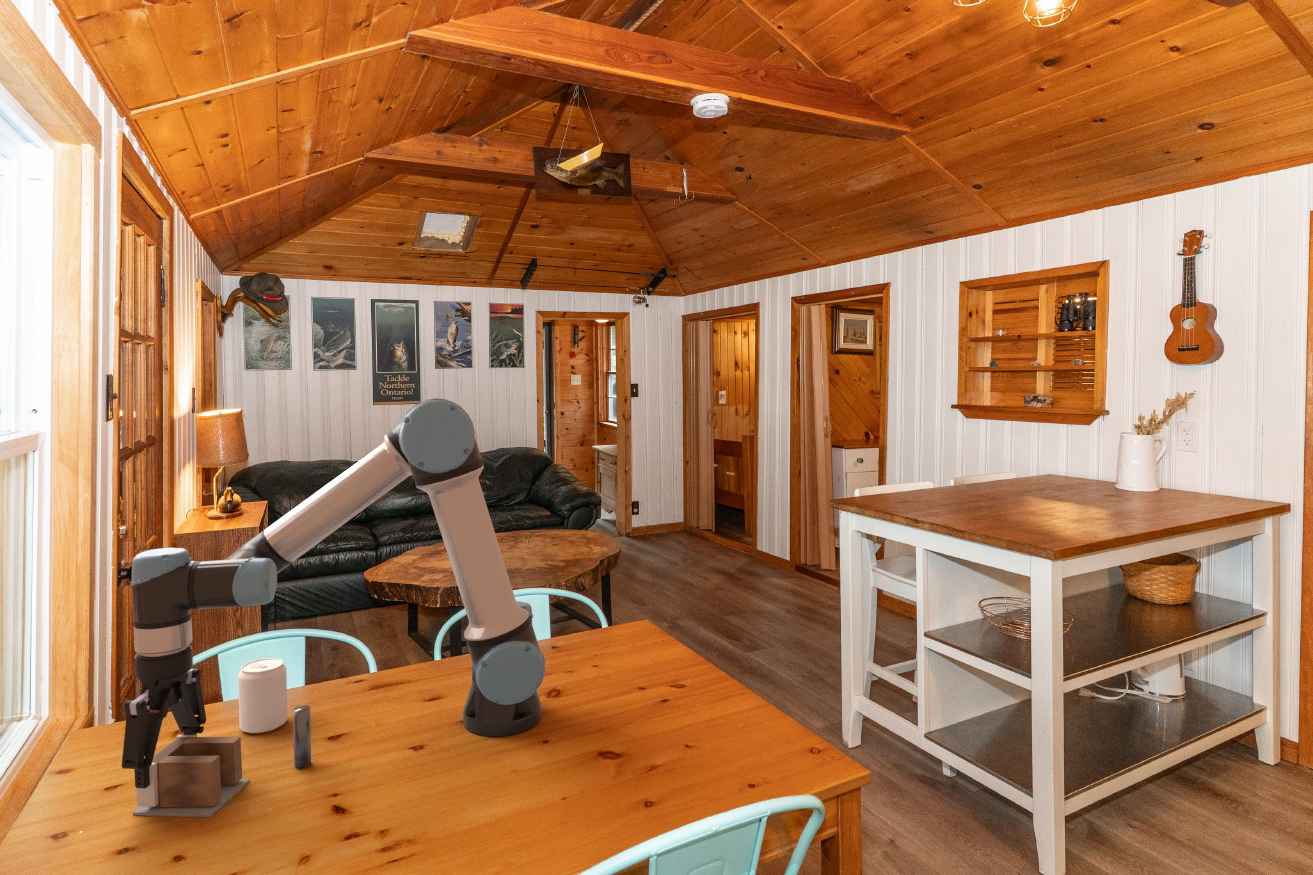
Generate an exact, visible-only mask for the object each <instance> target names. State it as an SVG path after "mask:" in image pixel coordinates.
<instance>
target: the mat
mask: <svg viewBox="0 0 1313 875" xmlns="http://www.w3.org/2000/svg"><path fill="white" fill-rule="evenodd" d="M250 781H251V779H250V778H241V780H240V781H239V782H238V783H237V784H233V785H221V800H220V801H219V802H218V803H217V804H216V805H215V806H199V807H147V806H138V808H137V809H135V810H134V811H133V812H132V816H147V817H148V816H150V817H152V816H153V817H155V816H156V817H158V816H159V817H161V816H162V817H192V818H193V817H196V818H197V817H198V818H211V817H212V816H213V815H215V813H217V812H218V811H219V810H220V809H221V808H222V807H223V806H225V804H227V803H228V802H229V801H230V800H231V799H232V798H233V797H234V796H236V795H237V794H238V793H239V792H240V791H241V790H243V788H244V787H246V786H247V785H248V784H249V783H250Z"/></svg>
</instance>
